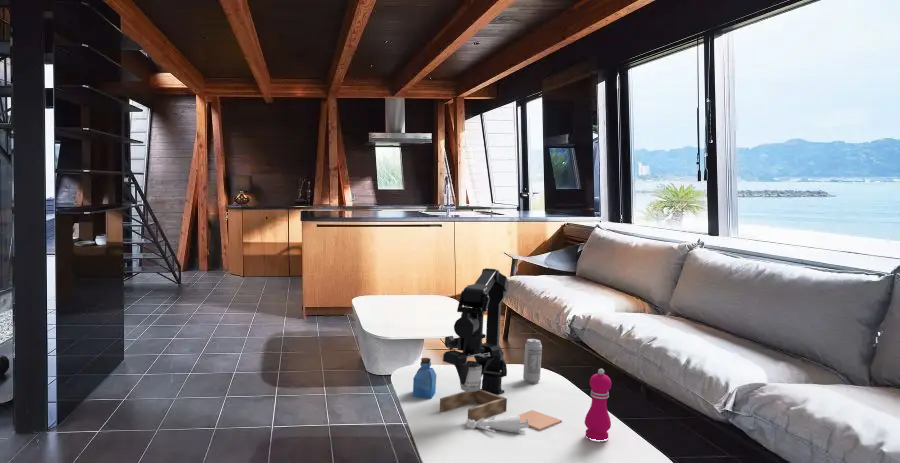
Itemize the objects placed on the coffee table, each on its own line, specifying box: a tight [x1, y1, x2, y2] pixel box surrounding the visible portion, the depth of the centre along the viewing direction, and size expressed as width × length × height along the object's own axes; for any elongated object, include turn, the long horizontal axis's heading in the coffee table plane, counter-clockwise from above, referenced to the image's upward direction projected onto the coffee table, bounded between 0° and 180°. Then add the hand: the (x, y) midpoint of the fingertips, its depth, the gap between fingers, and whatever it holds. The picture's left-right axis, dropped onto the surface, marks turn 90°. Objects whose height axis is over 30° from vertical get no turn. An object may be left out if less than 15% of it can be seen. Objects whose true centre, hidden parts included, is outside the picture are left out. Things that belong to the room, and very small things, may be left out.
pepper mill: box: [584, 368, 612, 440], centre depth 183 cm, size 7×7×20 cm
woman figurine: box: [465, 414, 530, 434], centre depth 187 cm, size 12×4×18 cm
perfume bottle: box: [412, 357, 437, 400], centre depth 213 cm, size 6×6×12 cm
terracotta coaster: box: [516, 409, 563, 432], centre depth 195 cm, size 11×11×1 cm
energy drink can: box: [522, 338, 543, 384], centre depth 234 cm, size 6×6×15 cm
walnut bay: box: [439, 388, 508, 423], centre depth 200 cm, size 17×13×4 cm
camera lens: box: [459, 360, 482, 392], centre depth 192 cm, size 6×6×8 cm
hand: (470, 382), depth 192 cm, fingers closed on camera lens, 6 cm apart
